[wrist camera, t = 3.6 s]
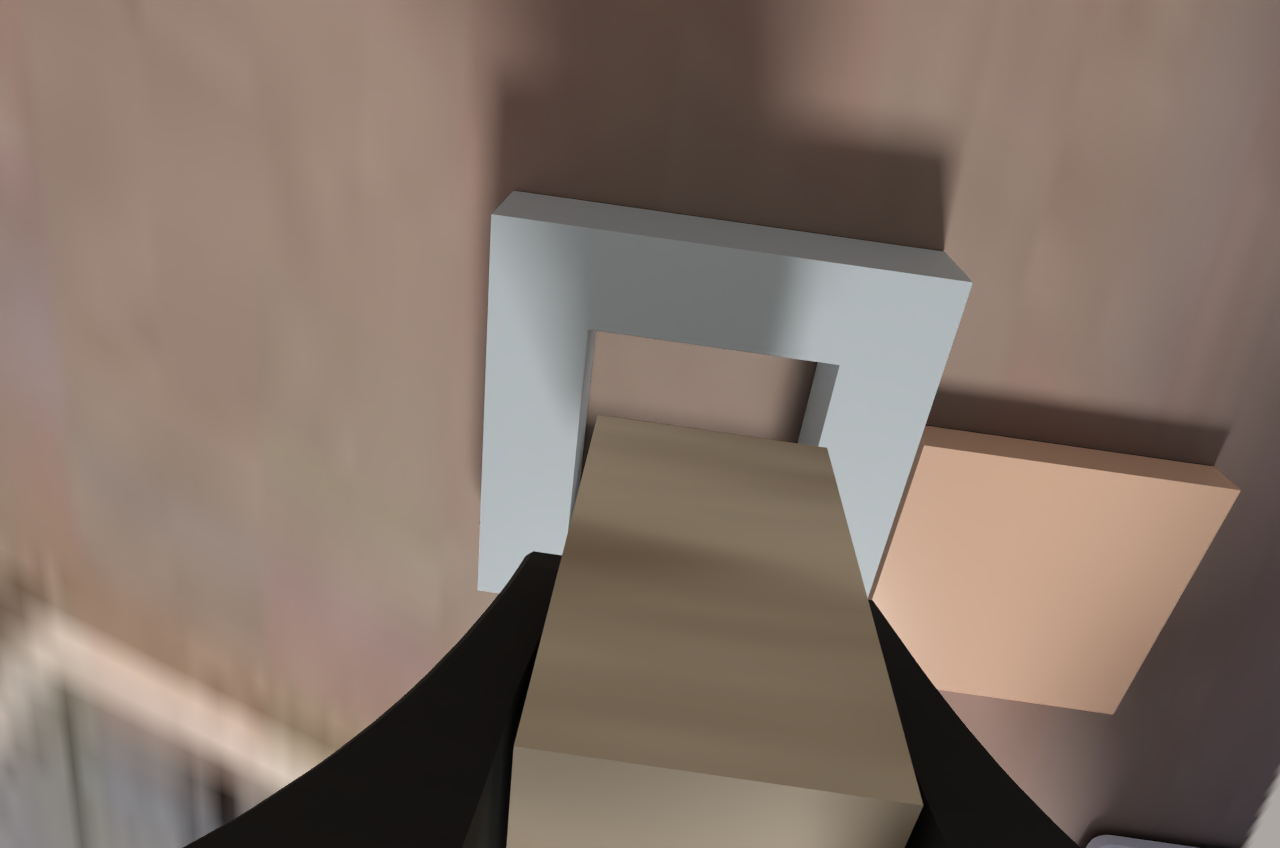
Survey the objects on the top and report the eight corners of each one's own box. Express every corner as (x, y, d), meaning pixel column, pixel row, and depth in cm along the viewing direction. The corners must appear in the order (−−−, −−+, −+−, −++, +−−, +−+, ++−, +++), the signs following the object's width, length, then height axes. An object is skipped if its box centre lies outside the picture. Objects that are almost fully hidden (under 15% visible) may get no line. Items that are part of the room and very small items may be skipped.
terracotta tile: (1096, 685, 22) (1112, 714, 21) (840, 649, 22) (846, 676, 21) (1215, 466, 19) (1241, 490, 18) (913, 424, 19) (924, 445, 18)
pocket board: (840, 589, 21) (852, 644, 19) (496, 539, 21) (477, 590, 19) (944, 251, 17) (972, 282, 15) (513, 190, 17) (490, 214, 15)
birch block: (779, 623, 16) (827, 1022, 10) (577, 593, 16) (496, 974, 10) (827, 447, 14) (923, 804, 8) (597, 414, 14) (513, 746, 8)
